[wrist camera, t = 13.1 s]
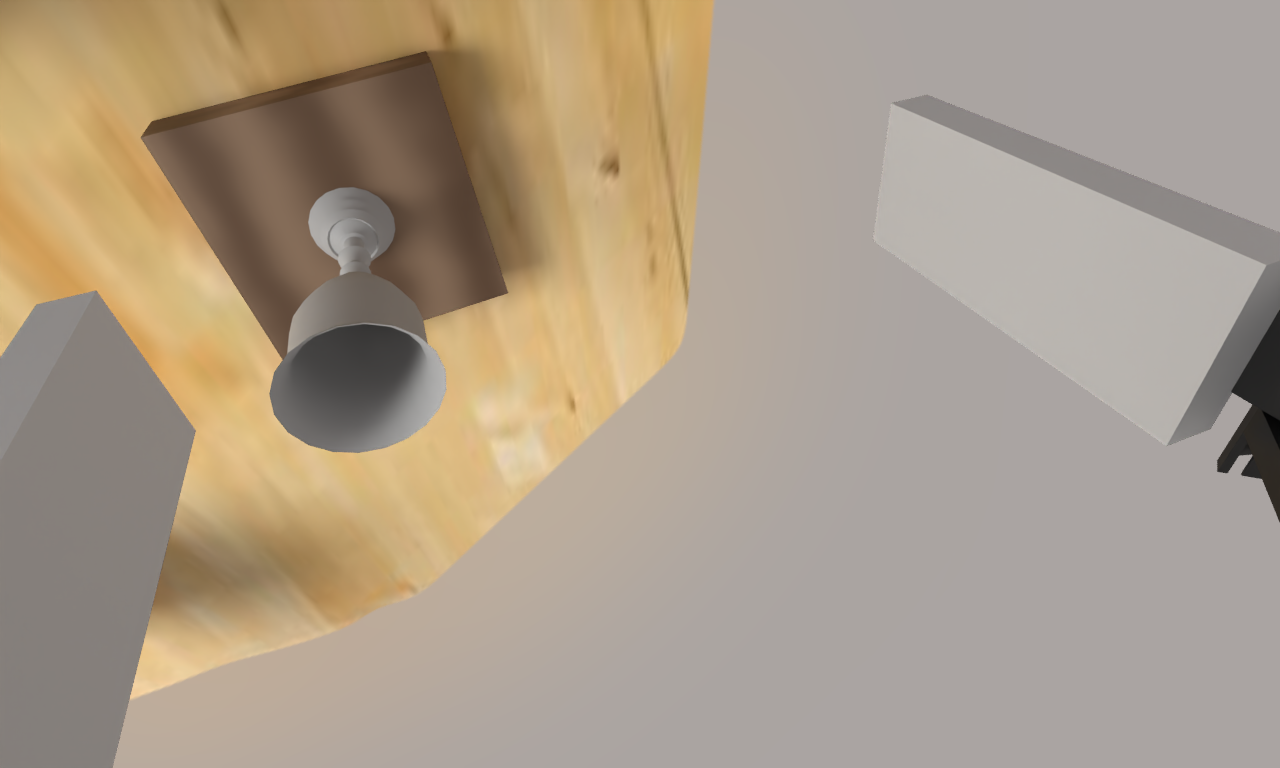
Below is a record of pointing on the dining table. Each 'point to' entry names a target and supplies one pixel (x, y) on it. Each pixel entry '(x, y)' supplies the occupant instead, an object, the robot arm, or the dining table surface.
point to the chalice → (356, 341)
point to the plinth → (332, 187)
